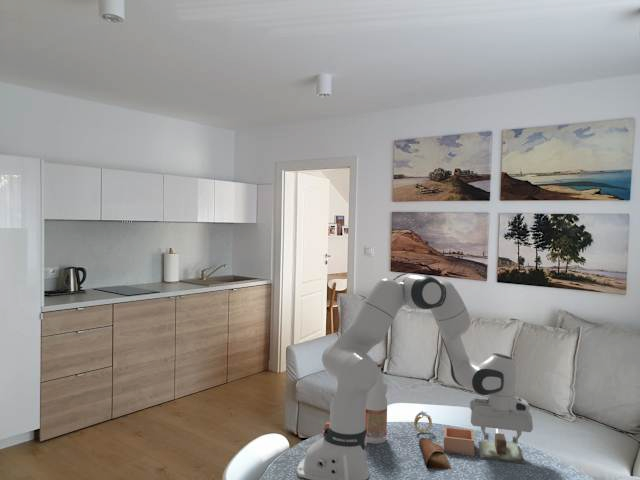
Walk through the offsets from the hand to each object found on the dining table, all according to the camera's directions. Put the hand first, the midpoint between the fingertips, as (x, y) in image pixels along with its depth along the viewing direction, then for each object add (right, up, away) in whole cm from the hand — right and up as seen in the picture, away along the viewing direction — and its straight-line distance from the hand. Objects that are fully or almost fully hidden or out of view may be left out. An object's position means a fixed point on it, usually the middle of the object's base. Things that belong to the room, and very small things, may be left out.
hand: (500, 440), depth 172 cm
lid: (0, -4, 0) cm, 4 cm away
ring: (-24, -4, +17) cm, 29 cm away
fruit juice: (-43, -3, +9) cm, 44 cm away
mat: (0, -4, 0) cm, 4 cm away
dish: (-14, -4, +4) cm, 15 cm away
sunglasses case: (-24, -4, -4) cm, 25 cm away
